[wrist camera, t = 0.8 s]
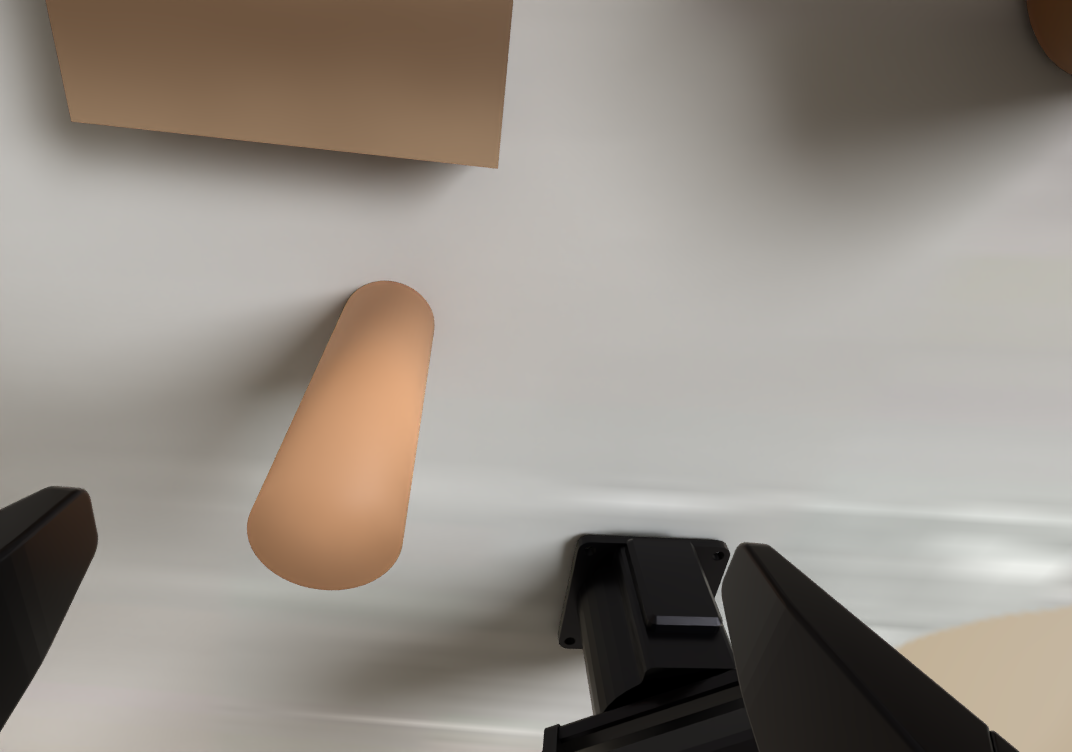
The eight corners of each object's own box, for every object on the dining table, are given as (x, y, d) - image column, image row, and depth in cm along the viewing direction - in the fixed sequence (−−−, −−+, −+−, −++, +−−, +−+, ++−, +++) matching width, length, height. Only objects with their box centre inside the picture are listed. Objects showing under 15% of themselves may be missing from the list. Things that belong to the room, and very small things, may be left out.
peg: (432, 366, 22) (400, 592, 14) (343, 359, 22) (254, 587, 13) (436, 285, 21) (404, 481, 12) (341, 276, 21) (239, 473, 12)
